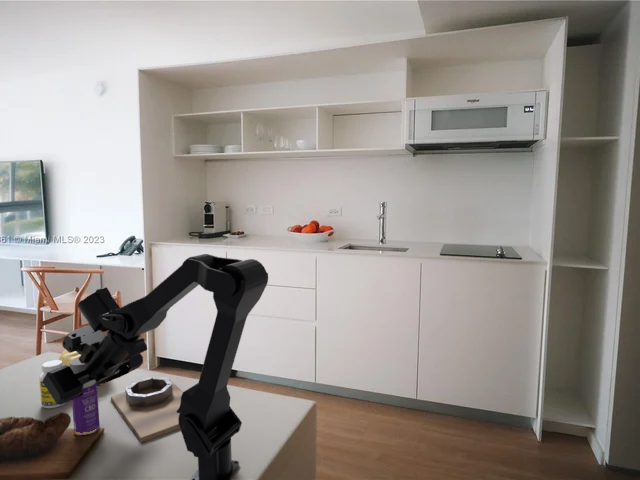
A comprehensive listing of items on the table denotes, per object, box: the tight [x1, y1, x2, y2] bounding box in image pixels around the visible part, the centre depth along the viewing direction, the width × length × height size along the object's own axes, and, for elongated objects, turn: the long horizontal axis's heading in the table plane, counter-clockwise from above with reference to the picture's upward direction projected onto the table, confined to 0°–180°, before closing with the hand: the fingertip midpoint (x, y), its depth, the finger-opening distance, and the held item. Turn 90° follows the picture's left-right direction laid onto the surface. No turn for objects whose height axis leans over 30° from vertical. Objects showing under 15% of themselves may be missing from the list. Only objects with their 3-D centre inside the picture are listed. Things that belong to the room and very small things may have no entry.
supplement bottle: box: [39, 359, 66, 409], centre depth 100 cm, size 5×5×10 cm
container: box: [69, 358, 101, 433], centre depth 88 cm, size 5×5×15 cm
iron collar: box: [124, 376, 173, 407], centre depth 101 cm, size 10×10×2 cm
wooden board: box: [110, 378, 184, 443], centre depth 98 cm, size 22×14×1 cm, turn 40°
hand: (79, 391), depth 89 cm, fingers open, 7 cm apart
